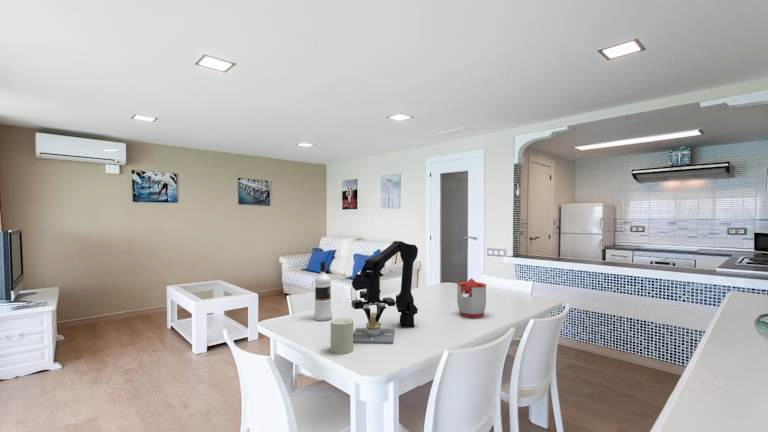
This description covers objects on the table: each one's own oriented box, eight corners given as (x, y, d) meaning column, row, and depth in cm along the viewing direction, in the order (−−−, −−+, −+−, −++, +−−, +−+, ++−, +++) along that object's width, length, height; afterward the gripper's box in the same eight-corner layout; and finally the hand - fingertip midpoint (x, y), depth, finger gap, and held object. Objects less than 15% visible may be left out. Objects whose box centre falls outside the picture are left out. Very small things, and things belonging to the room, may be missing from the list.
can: (343, 355, 140) (343, 324, 141) (325, 351, 145) (325, 320, 145) (358, 348, 148) (358, 318, 148) (340, 344, 153) (340, 315, 153)
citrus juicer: (450, 317, 195) (450, 279, 195) (463, 310, 209) (463, 275, 210) (479, 322, 186) (479, 282, 186) (490, 314, 200) (490, 277, 201)
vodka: (313, 317, 195) (313, 260, 196) (331, 316, 197) (331, 260, 198) (314, 322, 186) (314, 262, 187) (332, 320, 188) (332, 262, 189)
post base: (394, 330, 171) (394, 322, 172) (392, 344, 154) (392, 334, 154) (356, 330, 173) (356, 321, 173) (350, 343, 155) (350, 333, 155)
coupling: (381, 324, 167) (381, 312, 167) (379, 330, 158) (379, 318, 158) (367, 324, 168) (367, 312, 168) (365, 330, 159) (365, 317, 159)
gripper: (386, 282, 174) (386, 316, 174) (348, 285, 168) (348, 319, 168) (395, 287, 164) (395, 322, 163) (354, 289, 157) (354, 326, 157)
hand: (373, 322), depth 163 cm, fingers closed on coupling, 3 cm apart
